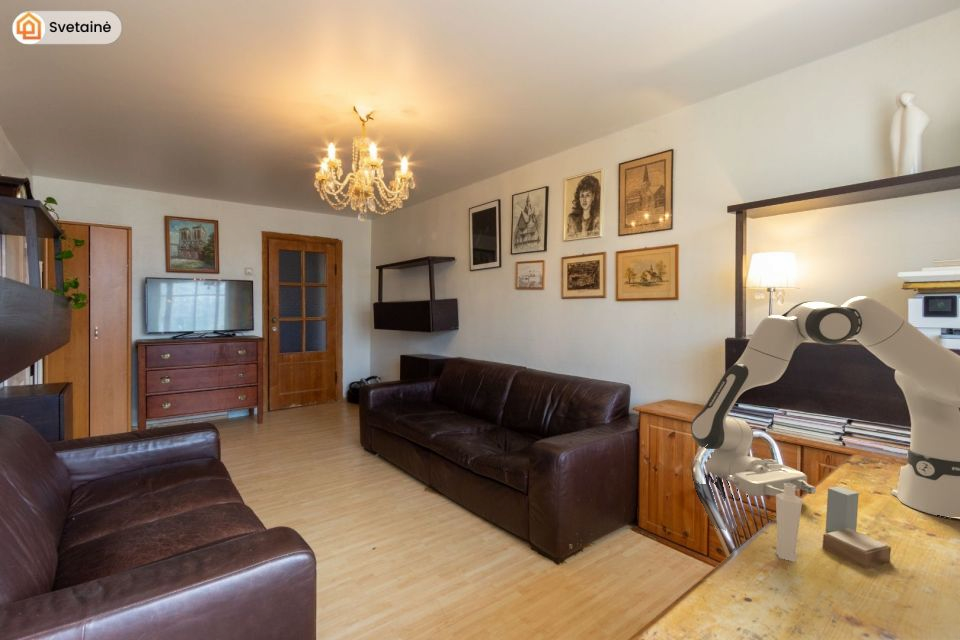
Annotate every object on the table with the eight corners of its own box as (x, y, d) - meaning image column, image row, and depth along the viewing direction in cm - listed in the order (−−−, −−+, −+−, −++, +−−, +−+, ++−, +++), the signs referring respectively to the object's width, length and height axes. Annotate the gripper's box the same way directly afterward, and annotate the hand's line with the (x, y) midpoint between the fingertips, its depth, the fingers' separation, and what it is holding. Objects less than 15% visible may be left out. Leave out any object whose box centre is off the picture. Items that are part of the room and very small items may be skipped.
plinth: (846, 541, 100) (847, 527, 100) (889, 561, 93) (890, 545, 92) (822, 547, 97) (823, 532, 97) (865, 568, 90) (866, 552, 90)
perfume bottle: (804, 564, 91) (808, 490, 90) (780, 561, 92) (784, 488, 91) (793, 551, 95) (797, 482, 95) (770, 549, 96) (774, 479, 95)
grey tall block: (836, 527, 106) (839, 486, 106) (855, 536, 103) (858, 492, 102) (825, 530, 105) (828, 488, 105) (844, 538, 101) (847, 495, 101)
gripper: (723, 466, 122) (771, 485, 109) (776, 458, 129) (828, 476, 116) (721, 489, 122) (770, 511, 109) (775, 480, 129) (826, 500, 116)
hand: (800, 493), depth 112 cm, fingers open, 8 cm apart
